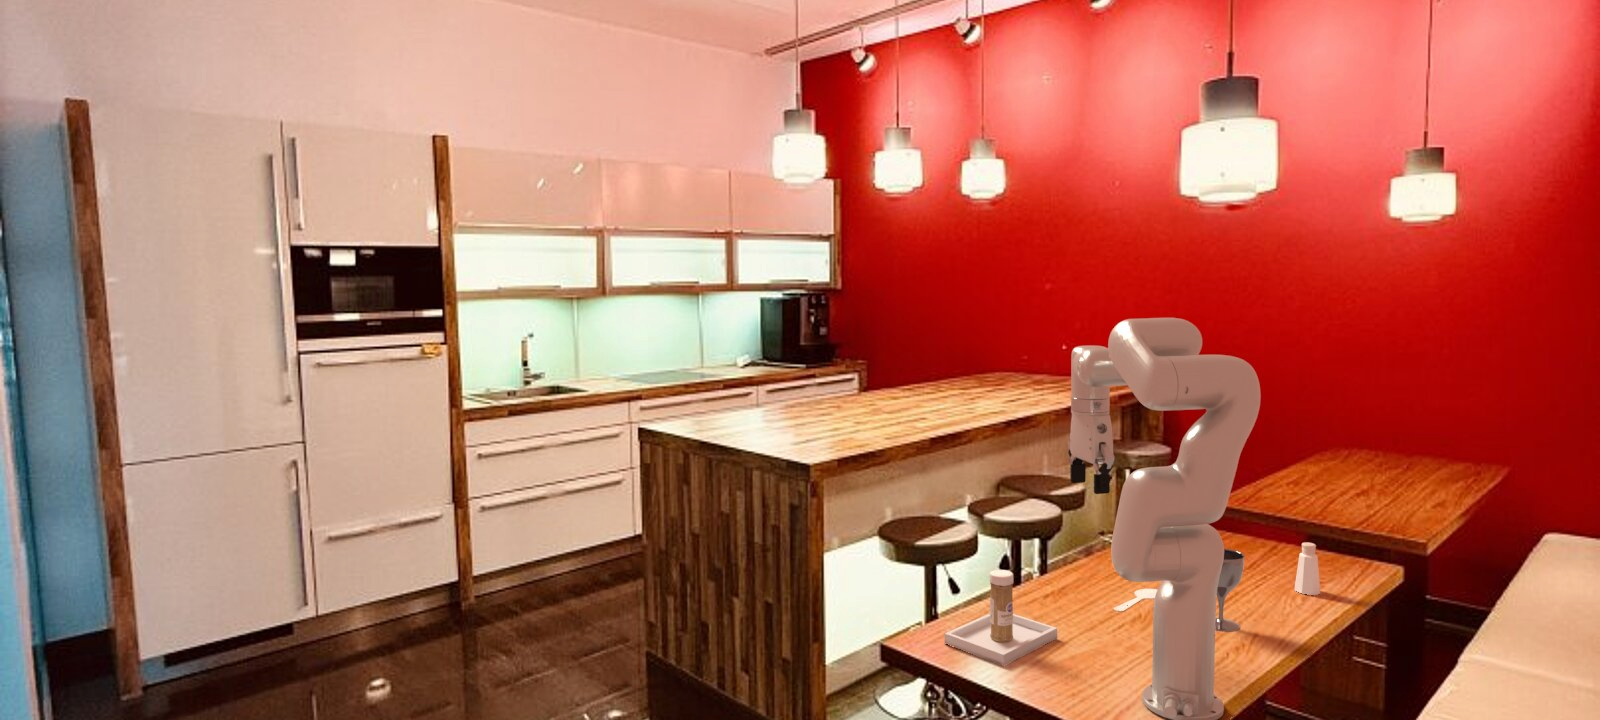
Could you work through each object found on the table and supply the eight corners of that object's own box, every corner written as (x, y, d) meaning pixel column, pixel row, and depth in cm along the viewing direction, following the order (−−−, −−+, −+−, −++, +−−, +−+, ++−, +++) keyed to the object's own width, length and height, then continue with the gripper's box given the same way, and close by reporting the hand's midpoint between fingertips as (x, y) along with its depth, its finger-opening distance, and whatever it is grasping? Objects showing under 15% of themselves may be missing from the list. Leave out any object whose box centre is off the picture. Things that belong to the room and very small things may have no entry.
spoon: (1104, 609, 193) (1104, 606, 193) (1144, 588, 205) (1144, 585, 205) (1128, 615, 189) (1128, 613, 189) (1167, 593, 201) (1167, 591, 201)
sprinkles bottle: (1008, 644, 174) (1008, 578, 172) (986, 639, 176) (986, 574, 175) (1016, 636, 178) (1016, 571, 176) (994, 631, 180) (994, 567, 179)
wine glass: (1205, 614, 188) (1207, 545, 187) (1246, 623, 183) (1248, 552, 182) (1194, 626, 182) (1196, 555, 181) (1236, 635, 177) (1238, 562, 176)
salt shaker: (1289, 591, 201) (1290, 543, 200) (1300, 585, 204) (1301, 538, 203) (1314, 597, 196) (1316, 549, 195) (1325, 591, 200) (1327, 544, 198)
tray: (1003, 666, 166) (1003, 654, 166) (944, 644, 176) (944, 633, 176) (1057, 638, 178) (1057, 627, 177) (999, 619, 188) (999, 609, 188)
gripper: (1129, 411, 175) (1128, 496, 176) (1086, 399, 192) (1085, 477, 193) (1094, 413, 173) (1093, 499, 175) (1053, 401, 190) (1053, 479, 192)
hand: (1089, 487), depth 184 cm, fingers open, 9 cm apart
